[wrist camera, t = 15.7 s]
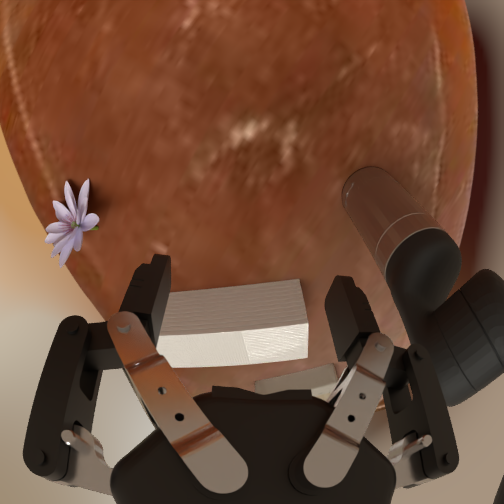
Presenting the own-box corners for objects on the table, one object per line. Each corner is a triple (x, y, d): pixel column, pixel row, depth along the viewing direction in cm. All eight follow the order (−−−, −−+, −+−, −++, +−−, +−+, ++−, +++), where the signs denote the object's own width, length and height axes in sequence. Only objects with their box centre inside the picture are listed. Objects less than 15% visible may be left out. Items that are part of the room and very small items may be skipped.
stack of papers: (155, 327, 60) (146, 367, 51) (137, 294, 54) (123, 336, 45) (299, 315, 58) (307, 357, 49) (298, 277, 52) (308, 323, 43)
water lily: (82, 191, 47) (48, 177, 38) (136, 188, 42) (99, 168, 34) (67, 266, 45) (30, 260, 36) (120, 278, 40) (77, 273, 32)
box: (252, 379, 76) (284, 412, 93) (253, 402, 69) (286, 430, 87) (331, 358, 71) (345, 397, 89) (337, 382, 65) (349, 415, 83)
